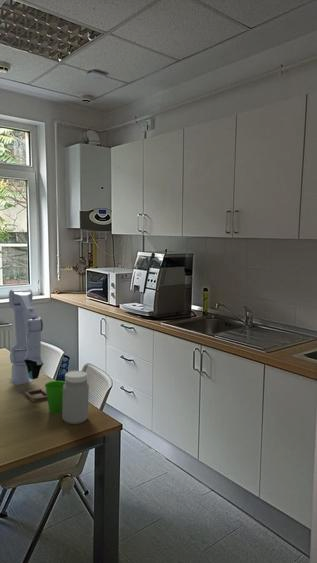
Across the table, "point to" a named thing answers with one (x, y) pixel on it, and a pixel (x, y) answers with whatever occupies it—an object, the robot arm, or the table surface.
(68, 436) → the table surface
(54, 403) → the cup
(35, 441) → the table surface
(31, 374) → the ball
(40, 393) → the tray
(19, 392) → the coaster
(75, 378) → the jar
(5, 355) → the table surface
